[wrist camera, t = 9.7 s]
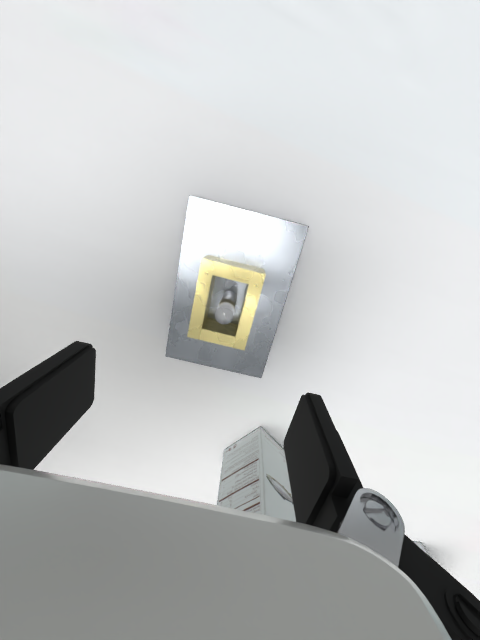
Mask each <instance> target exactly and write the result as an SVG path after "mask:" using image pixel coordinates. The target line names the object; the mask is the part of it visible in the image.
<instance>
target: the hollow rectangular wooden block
mask: <svg viewBox="0 0 480 640" xmlns="http://www.w3.org/2000/svg"><path fill="white" fill-rule="evenodd" d="M216 276H218V277H222V278H226V279H230V280H234V281H238V282H242V283H246V284H248V285H247V289H246V292H245V296H244V300H243V304H242V308H241V312H240V316H239V320H238V323H237V324H234V323H229V324H220V323H219V322H217V320H216V319H213V318H209V317H207V316H208V311H209V307H210V302H211V297H212V292H213V287H214V283H215V278H216ZM265 276H266V273H265V271H264V269H262V268H258V267H254V266H250V265H246V264H242V263H238V262H234V261H230V260H226V259H222V258H219V257H215V256H211V255H207V256H205V257H203V258H202V259H201V264H200V270H199V275H198V280H197V286H196V291H195V297H194V302H193V308H192V313H191V319H190V324H189V329H188V335H187V337H190V338H194V339H198V340H202V341H207V342H211V343H215V344H219V345H223V346H228V347H232V348H236V349H240V350H244V351H245V347H246V343H247V340H248V336H249V333H250V329H251V326H252V322H253V319H254V315H255V311H256V308H257V304H258V301H259V297H260V294H261V290H262V287H263V283H264V279H265Z"/></svg>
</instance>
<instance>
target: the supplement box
mask: <svg viewBox="0 0 480 640" xmlns="http://www.w3.org/2000/svg"><path fill="white" fill-rule="evenodd" d="M217 505H218V506H222V507H227V508H232V509H237V510H242V511H247V512H252V513H257V514H262V515H267V516H271V517H276V518H280V519H285V520H289V521H294V522H296V517H295V511H294V505H293V499H292V493H291V487H290V481H289V475H288V469H287V463H286V457H285V451H284V449H283V448H282V447H280V446H279V445H278V444H277V443H276V442H275V441H274V440H273V439H272V438H271V437H270V436H269V435H268V434H267V433H266V432H265V430H264V429H263V428H262V427H259V428H258V429H256V430H254V431H253V432H251V433H250V434H248V435H247V436H245V437H243V438H242V439H240V440H239V441H237V442H236V443H234V444H233V445H231V446H230V447H228V448H226V449H225V450H224V455H223V462H222V469H221V477H220V485H219V493H218V500H217Z"/></svg>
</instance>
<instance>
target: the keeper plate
mask: <svg viewBox="0 0 480 640" xmlns="http://www.w3.org/2000/svg"><path fill="white" fill-rule="evenodd" d="M308 228H309V226H306V225H302V224H298V223H295V222H291V221H287V220H283V219H279V218H275V217H271V216H267V215H264V214H260V213H256V212H252V211H248V210H244V209H240V208H236V207H233V206H229V205H225V204H221V203H217V202H213V201H209V200H205V199H202V198H198V197H194V196H190V195H189V200H188V207H187V214H186V220H185V227H184V234H183V241H182V248H181V254H180V261H179V268H178V275H177V282H176V288H175V295H174V302H173V309H172V316H171V322H170V329H169V336H168V343H167V349H166V357H171V358H175V359H179V360H184V361H188V362H193V363H197V364H201V365H206V366H210V367H215V368H219V369H223V370H228V371H232V372H236V373H241V374H245V375H250V376H254V377H258V378H261V377H262V374H263V371H264V367H265V364H266V361H267V358H268V355H269V352H270V348H271V345H272V342H273V339H274V336H275V332H276V329H277V326H278V323H279V320H280V317H281V313H282V310H283V307H284V304H285V301H286V298H287V294H288V291H289V288H290V285H291V282H292V278H293V275H294V272H295V269H296V266H297V263H298V259H299V256H300V253H301V250H302V247H303V244H304V240H305V237H306V234H307V231H308ZM207 255H211V256H215V257H219V258H222V259H226V260H230V261H234V262H238V263H242V264H246V265H250V266H254V267H258V268H262V269H264V271H265V273H266V276H265V279H264V283H263V287H262V290H261V294H260V297H259V301H258V304H257V308H256V311H255V315H254V319H253V322H252V326H251V329H250V333H249V336H248V340H247V343H246V347H245V351H244V350H240V349H236V348H232V347H228V346H223V345H219V344H215V343H211V342H207V341H202V340H198V339H194V338H190V337H187V335H188V329H189V324H190V319H191V313H192V308H193V302H194V297H195V291H196V286H197V280H198V275H199V270H200V264H201V259H202V258H203V257H205V256H207ZM247 285H248V284H246V283H242V282H238V281H234V280H230V279H226V278H222V277H218V276H216V278H215V283H214V287H213V292H212V297H211V302H210V307H209V311H208V316H207V317H209V318H213V319H216V320H217V322H219V323H220V324H229V323H234V324H237V323H238V320H239V316H240V312H241V308H242V304H243V300H244V296H245V292H246V289H247Z"/></svg>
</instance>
